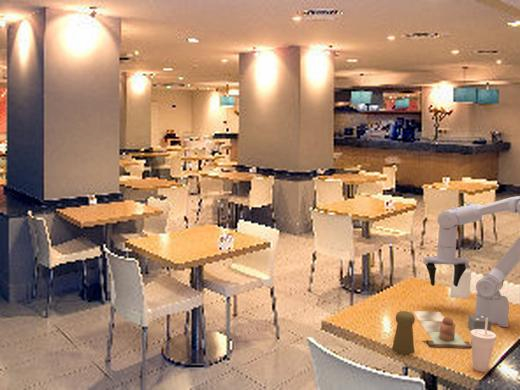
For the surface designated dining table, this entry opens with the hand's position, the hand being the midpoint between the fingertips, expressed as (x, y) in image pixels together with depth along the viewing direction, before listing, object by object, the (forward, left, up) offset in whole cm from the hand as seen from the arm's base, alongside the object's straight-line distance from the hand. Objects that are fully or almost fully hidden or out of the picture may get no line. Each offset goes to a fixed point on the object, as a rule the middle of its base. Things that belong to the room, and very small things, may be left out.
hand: (443, 285), depth 185 cm
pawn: (+6, +25, -8) cm, 27 cm away
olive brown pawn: (+20, +32, -10) cm, 39 cm away
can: (-11, -16, -10) cm, 22 cm away
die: (-6, +18, -10) cm, 21 cm away
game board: (+6, +16, -9) cm, 20 cm away
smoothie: (+2, +42, -10) cm, 43 cm away
